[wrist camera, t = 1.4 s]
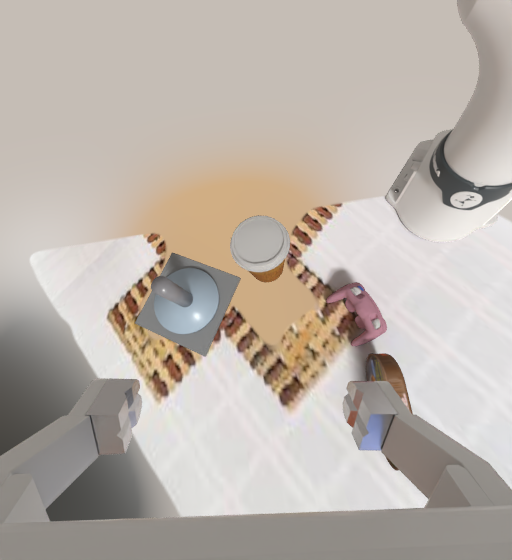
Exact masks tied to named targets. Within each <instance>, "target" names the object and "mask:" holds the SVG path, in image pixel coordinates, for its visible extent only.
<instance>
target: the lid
mask: <svg viewBox="0 0 512 560" xmlns="http://www.w3.org/2000/svg"><path fill="white" fill-rule="evenodd" d="M151 289H152V291H153V292H154V293H155V294H156V295H155V300H154V310H155V314H156V317H157V319H158V321H159V322H160V324H161V325H162V326H163V327H164V328H166V329H167V330H169V331H171V332H174V333H178V334H191V333H194V332H197V331H199V330H201V329H203V328H204V327H205V326H207V325H208V324H209V323H210V321H211V320H212V319H213V318H214V316H215V314H216V312H217V309H218V306H219V290H218V287H217V285H216V283H215V281H214V280H213V279H212V278H211V277H210V276H209V275H208V274H207V273H205V272H204V271H202V270H199V269H195V268H185V269H180V270H178V271H176V272H174V273H172V274H170V275H169V276H168V277H167V278H166V277H164V276H159V277H157V278H155V279H154V280H153V282H152V284H151Z"/></svg>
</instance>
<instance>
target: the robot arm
mask: <svg viewBox="0 0 512 560" xmlns="http://www.w3.org/2000/svg"><path fill="white" fill-rule="evenodd" d="M457 6H458V11H459V15H460V18H461V21H462V23H463V24H464V25H465V27H466V28H467V30H468V31H469V33H470V34H471V36H472V38H473V40H474V42H475V45H476V48H477V51H478V56H479V77H478V81H477V85H476V88H475V91H474V93H473V95H472V97H471V99H470V101H469V103H468V105H467V107H466V109H465V111H464V112H463V114H462V116H461V117H460V119H459V121H458V122H457V124H456V126H455V127H454V129H453V130H446V131H442V132H440V133H438V134H437V135H436V137H435V139H434V140H427V141H423V142H420V143H419V144H418V146H417V147H416V148H415V150H414V151H413V153H412V155H411V156H410V158H409V159H408V161H407V163H406V164H405V166H404V167H403V169H402V171H401V172H400V174H399V175H398V177H397V179H396V180H395V182H394V183H393V185H392V187H391V188H390V190H389V191H388V193H387V195H386V199H387V201H388V202H389V203H390V204H391V205H392V206H393V207H394V208H395V209H396V211H397V213H398V215H399V218H400V220H401V221H402V223H403V224H404V225H405V227H406V228H407V229H408V230H410V231H411V232H412V233H414V234H415V235H417V236H419V237H421V238H423V239H426V240H429V241H434V242H453V241H457V240H460V239H463V238H465V237H467V236H468V235H470V234H471V233H473V232H474V231H476V230H478V229H482V228H487V227H490V226H492V225H493V224H494V223H496V222H497V220H498V212H499V211H500V210H501V209H502V208H503V207H504V206H505V205H506V204H507V203H509V202H510V201H511V200H512V0H457ZM395 191H397V192H395ZM139 389H140V384H139V380H137V379H99V378H95V379H94V380H92V381H91V383H90V384H89V385H88V387H87V388H86V390H85V391H84V393H83V394H82V396H81V397H80V399H79V400H78V401H77V403H76V404H75V406H74V407H73V409H72V410H71V412H70V413H69V414H68V416H62V417H61V418H59V419H58V420H56V421H54V422H53V423H51V424H50V425H48V426H47V427H45V428H44V429H42V430H40V431H39V432H37V433H36V434H34V435H33V436H31V437H30V438H28V439H26V440H25V441H23V442H22V443H20V444H19V445H17V446H16V447H14V448H12V449H11V450H9V451H8V452H6V453H5V454H3V455H2V456H0V560H512V490H511V489H510V487H509V486H508V485H507V484H506V483H505V482H504V480H503V479H502V478H501V477H500V476H499V475H498V473H497V472H496V471H495V470H494V469H493V467H492V466H491V465H490V464H489V463H488V462H486V461H485V460H483V459H482V458H480V457H479V456H477V455H476V454H474V453H473V452H471V451H470V450H468V449H467V448H465V447H464V446H462V445H461V444H459V443H458V442H456V441H455V440H453V439H452V438H450V437H449V436H447V435H446V434H444V433H443V432H441V431H440V430H438V429H437V428H435V427H434V426H432V425H431V424H429V423H428V422H426V421H425V420H423V419H422V418H420V417H419V416H417V415H412V413H411V412H410V411H409V409H408V408H407V407H406V405H405V404H404V402H403V401H402V400H401V398H400V397H399V395H398V394H397V393H396V391H395V390H394V388H393V387H392V386H391V384H390V383H389V382H387V381H350V382H349V383H348V385H347V391H348V394H347V395H346V396H345V397H344V401H343V412H344V416H345V419H346V421H347V423H348V424H349V425H350V426H352V427H353V431H352V435H353V437H354V440H355V442H356V444H357V447H358V449H359V450H382V451H381V452H382V453H383V454H384V455H385V456H386V457H387V458H388V459H389V460H390V461H391V462H392V463H393V464H394V465H395V466H396V467H397V468H398V469H399V470H400V471H401V472H402V473H403V474H404V475H405V476H406V477H407V478H408V479H409V480H410V481H411V482H412V483H413V484H414V485H415V486H416V487H417V488H418V489H419V490H420V491H421V492H422V493H423V494H424V495H425V496H426V497H427V498H428V501H427V503H426V505H425V507H424V508H413V509H385V510H358V511H330V512H303V513H276V514H248V515H221V516H194V517H166V518H140V519H111V520H85V521H84V520H83V521H55V522H50V520H49V518H48V515H47V513H46V510H45V509H46V508H47V507H48V506H49V505H50V504H51V503H52V502H53V501H54V500H55V499H56V498H57V497H58V496H59V495H60V494H61V493H62V492H63V491H64V490H65V489H66V488H67V487H68V486H69V485H70V484H71V483H72V482H73V481H74V480H75V479H76V478H77V477H78V476H79V475H80V474H81V473H82V472H83V471H84V470H85V469H86V468H87V467H88V466H89V465H90V464H91V463H93V462H94V460H95V459H97V458H98V457H99V455H105V454H125V452H126V450H127V447H128V445H129V442H130V440H131V437H132V429H131V428H133V427H134V426H135V425H136V424H137V422H138V419H139V417H140V412H141V406H142V400H141V396H140V395H139V394H138V391H139Z"/></svg>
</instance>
